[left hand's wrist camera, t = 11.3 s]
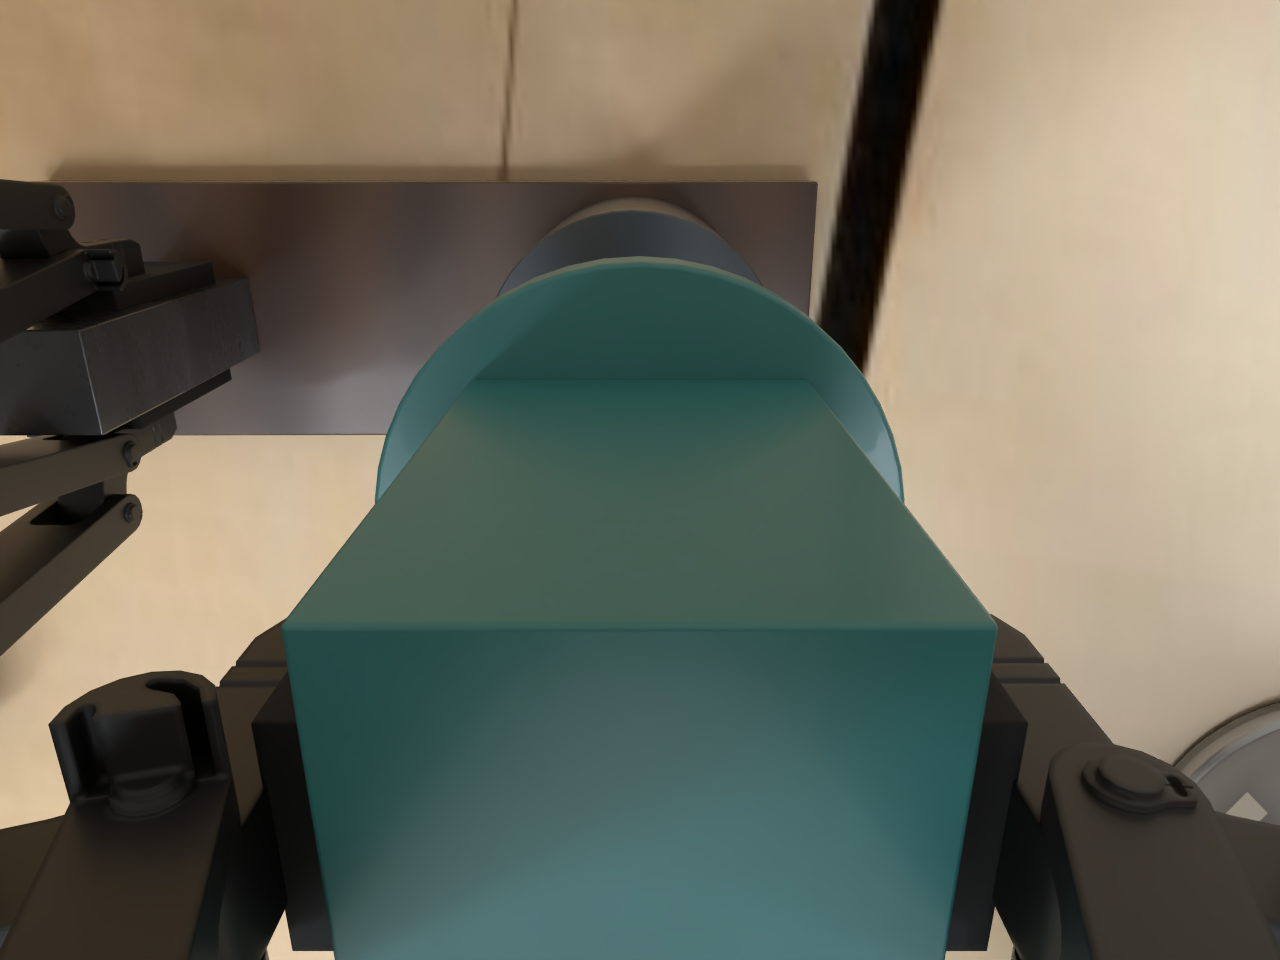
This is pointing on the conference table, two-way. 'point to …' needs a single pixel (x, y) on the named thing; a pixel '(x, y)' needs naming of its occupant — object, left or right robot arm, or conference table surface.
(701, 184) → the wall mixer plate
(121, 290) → the right robot arm
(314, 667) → the cap block
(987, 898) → the left robot arm
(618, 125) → the conference table surface
